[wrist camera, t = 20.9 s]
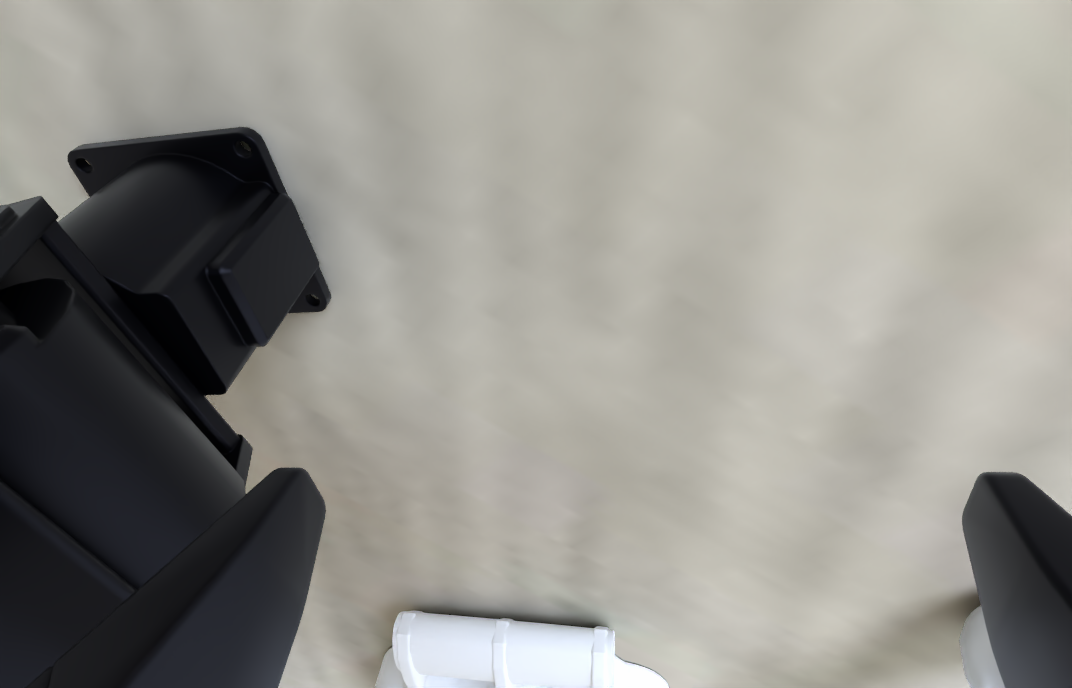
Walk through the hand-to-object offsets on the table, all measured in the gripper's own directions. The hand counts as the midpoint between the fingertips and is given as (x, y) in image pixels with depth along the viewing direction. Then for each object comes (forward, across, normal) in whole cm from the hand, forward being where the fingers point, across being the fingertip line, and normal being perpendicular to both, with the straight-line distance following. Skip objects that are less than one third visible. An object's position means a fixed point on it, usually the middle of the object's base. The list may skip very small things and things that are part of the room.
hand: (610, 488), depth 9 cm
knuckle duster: (+12, +9, +33) cm, 36 cm away
